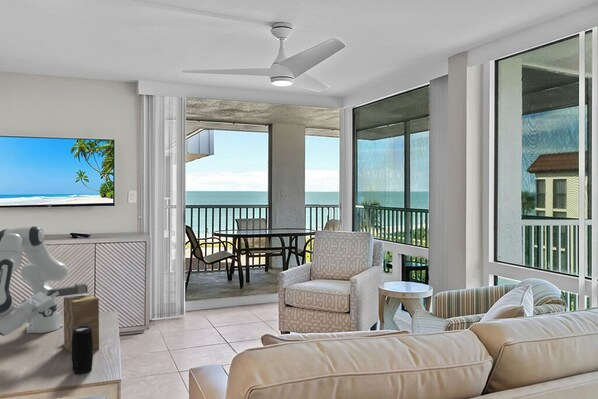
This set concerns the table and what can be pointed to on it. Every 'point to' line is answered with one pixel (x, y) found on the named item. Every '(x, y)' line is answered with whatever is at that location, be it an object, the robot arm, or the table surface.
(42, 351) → the table surface
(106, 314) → the table surface
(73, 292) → the dark grey square bar
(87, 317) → the panel block
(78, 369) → the portable speaker
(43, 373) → the table surface
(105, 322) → the table surface
